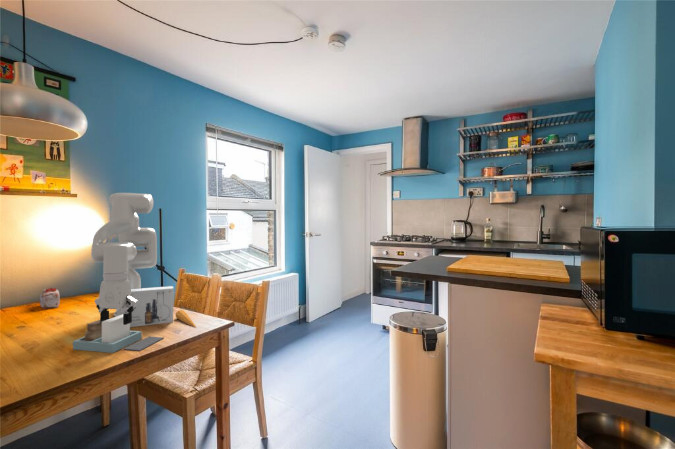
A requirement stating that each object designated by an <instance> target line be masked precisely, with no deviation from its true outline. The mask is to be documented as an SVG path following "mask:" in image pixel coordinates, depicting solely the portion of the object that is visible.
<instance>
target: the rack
mask: <svg viewBox="0 0 675 449" xmlns="http://www.w3.org/2000/svg"><path fill="white" fill-rule="evenodd" d="M142 332H143V331H142V330H140V331H139V330H130V336H128V337H125V338H123V339H121V340H119V341H116V342H114V343H106V342H102V337H100V338H98V339H95V340H93V341H83V340H85V336H83V337H80V338H78V339H75V340H72V349H73V350H74V351H75V350H77V351H86V352H87V351H88V352H98V353H100V352H101V353H109V354H113V353H114V354H115V352H118V351H120V350H122V349H124V348H126V347H128V346H130V345H132V344H135V343H137V342H139V341H141V340H143V339H142V338H143V333H142Z"/></svg>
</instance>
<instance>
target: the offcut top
mask: <svg viewBox="0 0 675 449" xmlns="http://www.w3.org/2000/svg"><path fill="white" fill-rule="evenodd" d="M86 327H87V328H86V331H97V330H100V329H102V323H100V319H98V320H94V321H92V322H89V323H87V324H86Z"/></svg>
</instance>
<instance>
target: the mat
mask: <svg viewBox="0 0 675 449" xmlns="http://www.w3.org/2000/svg"><path fill="white" fill-rule="evenodd" d="M161 340H164V337H162V336H147V337H145V338H143V339H141V340H139V341H137V342H135V343H132V344H130V345H128V346H126V347H124V348H123V350H126V351H133V352H134V351H137V352H141V351H143V350H145V349H147V348H149V347H151V346H153V345H154V344H156V343H158V342H161Z"/></svg>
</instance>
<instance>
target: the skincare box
mask: <svg viewBox="0 0 675 449" xmlns="http://www.w3.org/2000/svg"><path fill="white" fill-rule="evenodd" d="M131 297H132V298H134V299H135V300H137V301H138V303H137V305H136V308H135V309H134V311H133V312H132V322H131V323H130V328H135V327H142V326H150V325H151V326H153V325H160V324H169V323H173V322H174V286H172V285H168V286H158V287H157V286H156V287H155V286H153V287H142V288H141V289H131ZM130 306H131V305H130ZM127 310H128V308H127ZM122 314H125V313H124V311H123V310H122V308H121V309H118V316H119V315H122Z"/></svg>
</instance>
